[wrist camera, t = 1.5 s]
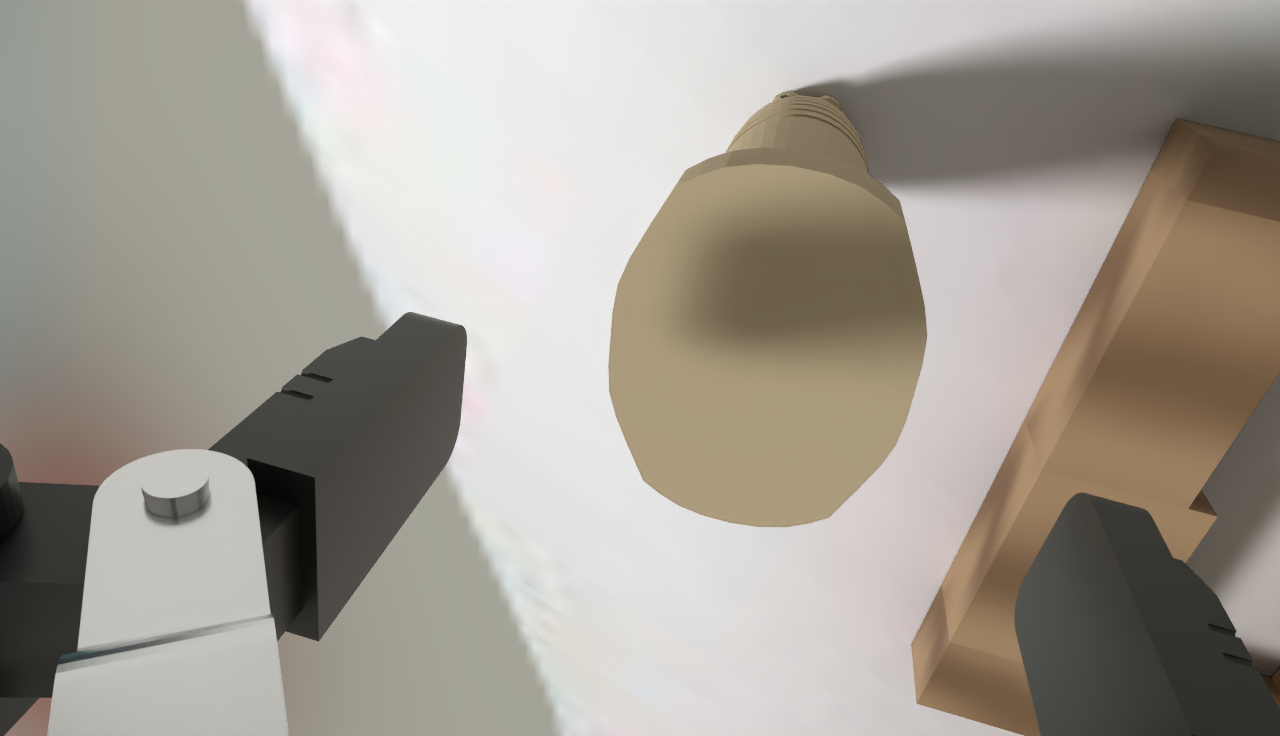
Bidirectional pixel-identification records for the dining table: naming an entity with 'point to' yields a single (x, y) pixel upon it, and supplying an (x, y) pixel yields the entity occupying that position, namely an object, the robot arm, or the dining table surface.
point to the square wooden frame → (1125, 405)
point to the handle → (769, 325)
